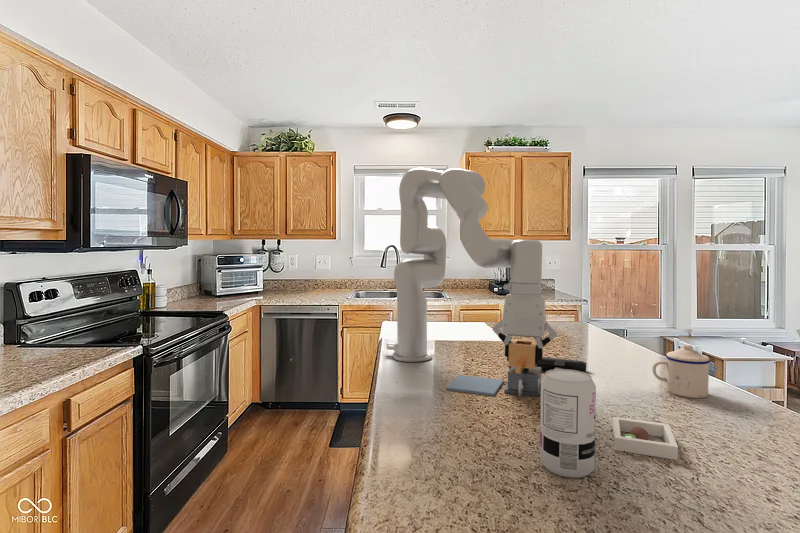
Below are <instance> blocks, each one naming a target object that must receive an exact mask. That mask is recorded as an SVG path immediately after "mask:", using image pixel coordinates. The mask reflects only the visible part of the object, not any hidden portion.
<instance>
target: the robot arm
mask: <svg viewBox="0 0 800 533" xmlns="http://www.w3.org/2000/svg"><path fill="white" fill-rule="evenodd" d="M485 182H486V181H485V179H484V177H483V176H482V175H481V174H480V173H479V172H477V171H475V170H469V169H462V168H456V167H454V168H449V169H446V170H445V171H444V170H437V169H431V168H425V167H417V168H412V169H410V170H408V171H407V172H405V174H404V175H403V176H402V178H401V181H400V183H399V187H398V188H399V191H398V192H399V203H400V204H399V205H400V227H399V228H400V230H399V232H400V234H399V244H400V250H401V251H402V252H403V253H404V254H406V255H411V256H412V255H413V256H421V255H422V256H423V258H409V259H403V260H401V261H399V262H398V263H397V264H396V266H395V267H394V270H393V277H394V280H393V281H394V285H395V289H396V307H397V308H396V310H397V311H396V312H397V314H396V318H397V324H396V326H397V328H396V329H397V330H396V332H397V337H396V338H397V340H396V341H397V342H395V343H394V342H387V343H386V349H387V350H390V351H391V350H393V351H394V352H393V353H392V358H393V360H396V361H400V362H404V363H405V362H407V363H418V362H427V361H429V360H431V359H432V358H433V357H432V356H433V355H432V352H430V351H428V302H427V299H426V296H425V293H424V292H423V289H430V288H436V287H439V286H440V285H441V284H442V283H443V281H444V279H445V276H446V259H447V237H446V235H445V232H444V231H443V230H442V229H441V228H440V227H439V226H435V225H428V223H429V222H428V221H429V220H428V217H429V212H428V208H427V205H426V203H425V200H424V199H423V198H432V199H433V198H434V199H445V200H446V201H447V202H448V204H449V205H450V206H451V209H453V211H454V212H455V214H456V216H457V217H458V219H459V221H460V224H459V236H460V237H459V239H460V242H461V243H462V246H463V248H464V249H465V251H466V253H467V254H468V256H469V257H470V259H471V260H472V261H473V263H475V264H476V265H477V266H478V267H480V268H483V269H495V268H496V269H497V268H499V269H502V268H504V269H505V268H509V269H510V270H509V281H508V283H504V284H503V289H504V290H506V291H508V294H506V295H505V298H504V305H503V310H502V311H503V312H502V319H501V320H500V321H498V322H497V324H496V325H494V326H493V327H492V332H494V333H495V334H496V336H498V338H499V340H501V342H502V343H503V344H504V357H506V362H509V343H510V342H511V341H512V340H513V337H525V338H534V339H535V340H534V341H536V343H537V348H536V362H535V363H536V364H539V362H540V361H542V357H543V353H544V352H543V349H544V347H545V346H546V345H548V344H549V343H550V342H551V341H552V340H554V339H555V337H557V335H558V332H557V331H556V330H555V329H554V327H553V326H551V325H550V324H549V323H548V322H547V315H546V314H547V313H546V304H545V302H546V301H545V297H544V295H542V278H543V277H542V276H543V275H542V272H543V270H542V269H543V268H542V267H543V244H542V242H541V241H540V240H537V239H511V238H493V237H492V238H491V237H489V236H488V234H487V233H486V232H485V231H484V228H483V227H482V225H481V224H480V221H481V220H482V219H483V218H484V217H485V216H486V215H487V212H488V211H489V206H488V203H487V201H486V200H485V198H484V197H483V195H484V192H485V189H486V183H485ZM501 328H502V329H501ZM546 332H548V333H549V334H547V336H546V337H545V338H543V337H544V335H545V334H546Z"/></svg>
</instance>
